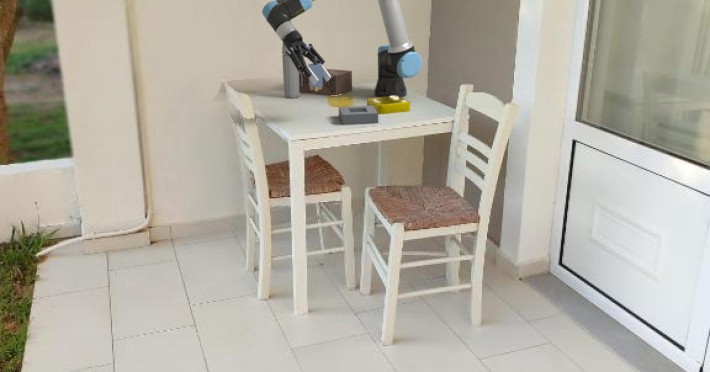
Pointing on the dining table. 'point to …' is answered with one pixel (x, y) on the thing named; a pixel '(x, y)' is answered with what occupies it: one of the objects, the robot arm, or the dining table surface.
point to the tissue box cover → (329, 83)
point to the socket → (358, 115)
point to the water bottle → (290, 76)
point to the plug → (316, 74)
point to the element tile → (389, 104)
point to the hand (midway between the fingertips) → (322, 80)
